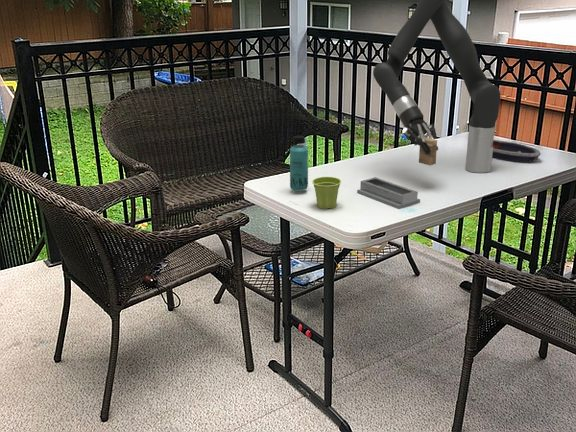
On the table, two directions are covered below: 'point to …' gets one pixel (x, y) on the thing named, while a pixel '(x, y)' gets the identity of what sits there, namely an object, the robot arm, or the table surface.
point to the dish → (514, 151)
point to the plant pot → (326, 191)
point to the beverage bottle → (298, 164)
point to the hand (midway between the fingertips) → (432, 151)
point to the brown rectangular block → (431, 157)
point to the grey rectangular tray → (388, 193)
